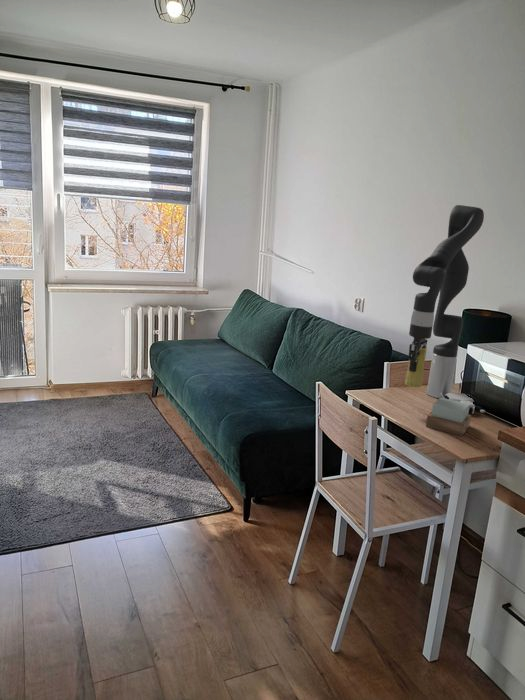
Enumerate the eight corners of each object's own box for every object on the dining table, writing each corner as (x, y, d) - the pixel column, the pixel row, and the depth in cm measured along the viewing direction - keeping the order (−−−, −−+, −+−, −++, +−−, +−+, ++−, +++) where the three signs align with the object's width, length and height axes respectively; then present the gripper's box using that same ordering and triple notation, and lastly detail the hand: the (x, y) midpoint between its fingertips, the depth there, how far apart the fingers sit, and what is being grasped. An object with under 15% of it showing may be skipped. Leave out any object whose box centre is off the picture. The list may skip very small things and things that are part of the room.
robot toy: (485, 419, 205) (467, 402, 219) (488, 408, 204) (470, 392, 218) (454, 417, 204) (438, 401, 218) (456, 406, 202) (440, 390, 216)
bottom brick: (434, 417, 199) (436, 406, 198) (469, 426, 193) (471, 415, 192) (425, 426, 189) (427, 415, 188) (462, 435, 183) (464, 424, 182)
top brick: (438, 408, 197) (440, 397, 196) (467, 415, 192) (469, 404, 191) (431, 415, 188) (433, 404, 187) (461, 423, 183) (463, 411, 182)
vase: (425, 386, 198) (431, 348, 194) (411, 387, 196) (417, 348, 192) (414, 381, 203) (420, 343, 200) (401, 382, 201) (406, 344, 197)
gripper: (426, 328, 186) (419, 376, 190) (437, 322, 198) (430, 368, 202) (404, 324, 190) (398, 371, 194) (417, 319, 202) (410, 363, 206)
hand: (414, 369), depth 198 cm, fingers closed on vase, 5 cm apart
